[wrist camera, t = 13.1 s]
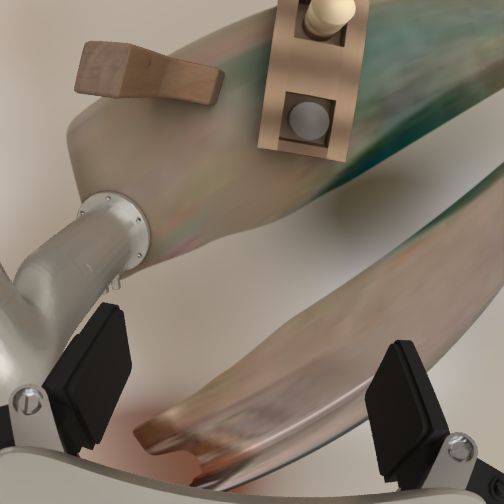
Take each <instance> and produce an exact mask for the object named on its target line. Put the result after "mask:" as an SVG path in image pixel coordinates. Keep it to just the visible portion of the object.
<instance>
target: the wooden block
mask: <svg viewBox="0 0 504 504" xmlns="http://www.w3.org/2000/svg"><path fill="white" fill-rule="evenodd" d="M224 75H225V74H224V72H223V71H221V70H219V69H218V68H214V67H210V66H205V65H201V64H196V63H191V62H187V61H183V60H178V59H175V58H171V57H168V56H165V55H162V54H159V53H157V52H154V51H151V50H148V49H144V48H142V47H139V46H136V45H132V44H128V43H118V42H103V41H89V42H86V43H85V45H84V48H83V52H82V56H81V60H80V65H79V69H78V73H77V78H76V83H75V87H74V90H75V91H76V92H77V93H80V94H88V95H95V96H102V97H109V98H140V97H161V98H171V99H177V100H184V101H189V102H193V103H198V104H203V105H215V104H216V103H217V99H218V96H219V92H220V89H221V85H222V82H223V79H224Z"/></svg>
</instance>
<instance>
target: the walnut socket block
mask: <svg viewBox="0 0 504 504" xmlns="http://www.w3.org/2000/svg"><path fill="white" fill-rule="evenodd" d="M311 1H312V0H278V5H277V12H276V19H275V25H274V32H273V39H272V46H271V53H270V60H269V67H268V74H267V81H266V89H265V96H264V103H263V110H262V117H261V124H260V132H259V139H258V146H257V148H264V149H271V150H278V151H284V152H291V153H297V154H303V155H308V156H314V157H320V158H325V159H330V160H335V161H340V162H345V160H346V155H347V150H348V145H349V139H350V134H351V129H352V123H353V117H354V111H355V105H356V99H357V93H358V87H359V80H360V74H361V67H362V60H363V52H364V45H365V37H366V28H367V19H368V10H369V1H367V0H354V2H355V6H356V10H355V14H354V16H353V17H352V18H351V19H350V20H349V21H348V22H347V23H346V24H345V25H344V26H343V27H342V28H341V29H340V30H339V31H338V32H337V33H336V34H334V35H333V36H332V37H331V38H330V39H329V40H326V41H322V42H319V41H314V40H312V39H310V38H309V37H307V36H306V35H305V33H304V32H303V29H302V22H303V19H304V17H305V15H306V12H307V10H308V8H309V5H310V3H311Z"/></svg>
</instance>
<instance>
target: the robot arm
mask: <svg viewBox="0 0 504 504" xmlns="http://www.w3.org/2000/svg"><path fill="white" fill-rule="evenodd" d="M110 197H111V198H110ZM139 218H140V219H141V220H140V219H139ZM149 246H150V229H149V225H148V222H147V219H146V217H145V215H144V214H143V212H142V210H141V209H140V208H139V207H138V206H137V204H136V203H134V202H133V201H132V200H131V199H129V198H128V197H126V196H124V195H122V194H120V193H117V192H111V191H105V192H100V193H96V194H94V195H93V196H91V197H89V198H88V199H87V200H86V201H85V202H84V203H83V204H82V205H81V207H80V209H79V211H78V214H77V218H76V220H75V221H73V222H72V223H71V224H69V225H68V226H66V227H65V228H64V229H62V230H61V231H60V232H58V233H57V234H56V235H54V236H53V237H52V238H50V239H49V240H48V241H47V242H45V243H44V244H43V245H41V246H40V247H39V248H38V249H36V250H35V251H34V252H32V253H31V254H30V255H29V256H28V257H27V258H26V259H25V260H24V261H23V262H22V264H21V265H20V267H19V269H18V271H17V273H16V275H15V278H14V281H13V284H12V282H11V280H10V279H9V277H8V275H7V274H6V272H5V270H4V269H3V267H2V265H1V263H0V504H504V473H502V472H500V471H498V470H497V469H495V468H493V467H492V466H490V465H488V464H486V463H485V462H483V461H482V460H480V459H478V458H477V455H478V450H477V446H476V444H475V442H474V440H473V439H472V438H471V437H470V436H468V435H466V434H464V433H459V432H455V433H452V434H450V432H449V428H448V425H447V422H446V420H445V417H444V415H443V412H442V409H441V407H440V404H439V402H438V400H437V397H436V394H435V392H434V389H433V387H432V385H431V383H430V380H429V378H428V375H427V373H426V371H425V368H424V366H423V364H422V361H421V359H420V357H419V355H418V353H417V350H416V348H415V346H414V344H413V342H412V341H410V340H396V341H395V342H394V344H391V345H390V346H389V348H388V350H387V352H386V354H385V356H384V358H383V360H382V362H381V364H380V366H379V368H378V370H377V372H376V374H375V376H374V378H373V380H372V382H371V384H370V386H369V388H368V389H367V391H366V394H365V403H366V408H367V412H368V417H369V421H370V426H371V431H372V436H373V440H374V445H375V450H376V456H377V461H378V467H379V472H380V474H381V475H382V476H384V480H385V483H387V482H395V481H398V486H399V488H398V489H397V491H396V492H390V493H381V494H369V495H358V496H343V497H273V496H259V495H247V494H237V493H228V492H221V491H213V490H207V489H200V488H194V487H189V486H183V485H178V484H173V483H168V482H164V481H159V480H155V479H151V478H147V477H143V476H139V475H135V474H131V473H128V472H124V471H121V470H117V469H113V468H110V467H107V466H104V465H101V464H97V463H94V462H91V461H88V460H86V459H82V458H80V456H79V454H78V453H79V452H80V450H81V448H82V447H85V448H87V449H90V450H93V448H94V445H95V444H99V443H100V442H101V440H102V437H103V435H104V432H105V430H106V428H107V425H108V423H109V421H110V418H111V416H112V414H113V411H114V409H115V407H116V404H117V402H118V400H119V397H120V395H121V393H122V390H123V388H124V386H125V384H126V382H127V380H128V377H129V375H130V373H131V369H132V362H131V357H130V351H129V345H128V338H127V332H126V326H125V319H124V312H123V311H122V310H120V309H119V306H118V305H114V304H109V303H105V302H103V303H101V304H100V306H99V307H98V308H97V310H96V311H95V313H94V314H93V315H92V317H91V318H90V319H89V321H88V322H87V324H86V325H85V327H84V328H83V329H82V331H81V332H80V334H77V335H76V336H75V337H74V338H73V339H72V341H71V342H70V344H69V345H68V346H67V348H66V350H65V351H64V349H65V347H66V344H67V343H68V341H69V339H70V337H71V336H72V334H73V332H74V331H75V330H76V328H77V327H78V325H79V324H80V322H81V321H82V320H83V318H84V317H85V315H86V314H87V313H88V312H89V310H90V309H91V308H92V306H93V305H94V304H95V302H96V301H97V300H98V299H99V297H100V296H101V295H102V294H107V293H108V292H109V287H108V286H109V284H110V283H112V289H114V290H118V289H120V280H119V277H120V275H121V274H122V273H123V272H124V271H126V270H130V269H132V268H134V267H136V266H137V265H138V264H139V263H140V262H141V261H142V260H143V259H144V257H145V256H146V254H147V252H148V250H149ZM63 351H64V352H63ZM62 353H63V354H62Z"/></svg>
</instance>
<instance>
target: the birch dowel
mask: <svg viewBox="0 0 504 504" xmlns="http://www.w3.org/2000/svg"><path fill="white" fill-rule="evenodd" d="M355 10H356V6H355V2H354V0H312V1H311V3H310V5H309V8H308V10H307V12H306V15H305V17H304V19H303V22H302V29H303V32H304V33H305V35H306V36H307V37H309V38H310V39H312V40H314V41H319V42H322V41H326V40H329V39H330V38H331V37H332V36H333V35H334V34H336V33H337V32H338V31H339V30H340V29H341V28H342V27H343V26H344V25H345V24H346V23H347V22H348V21H349V20H350V19H351V18H352V17H353V16H354V14H355Z"/></svg>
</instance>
